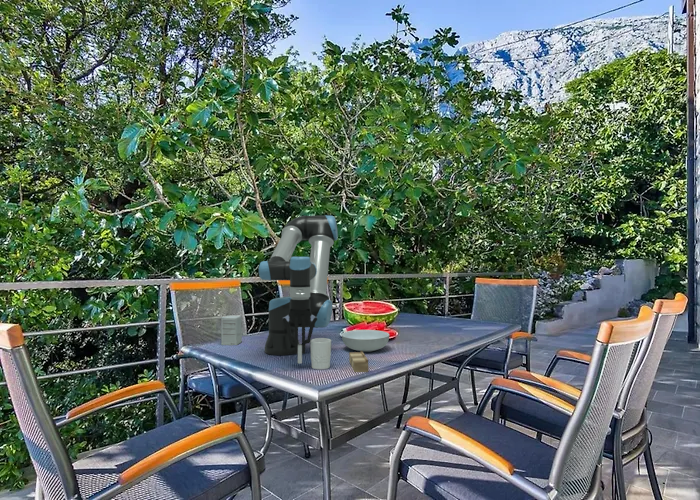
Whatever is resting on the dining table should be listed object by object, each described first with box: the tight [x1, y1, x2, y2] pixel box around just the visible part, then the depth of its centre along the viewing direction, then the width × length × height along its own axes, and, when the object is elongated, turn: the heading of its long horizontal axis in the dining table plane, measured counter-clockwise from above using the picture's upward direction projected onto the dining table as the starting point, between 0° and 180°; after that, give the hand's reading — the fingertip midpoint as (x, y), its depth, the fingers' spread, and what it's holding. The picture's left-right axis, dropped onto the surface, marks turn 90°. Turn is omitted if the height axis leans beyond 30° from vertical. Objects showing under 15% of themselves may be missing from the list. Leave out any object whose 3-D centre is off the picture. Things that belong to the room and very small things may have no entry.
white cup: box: [309, 337, 332, 370], centre depth 158 cm, size 8×8×10 cm
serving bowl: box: [341, 329, 390, 353], centre depth 188 cm, size 21×21×7 cm
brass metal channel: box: [348, 351, 369, 373], centre depth 160 cm, size 15×5×4 cm, turn 7°
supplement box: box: [220, 315, 243, 346], centre depth 199 cm, size 7×7×13 cm
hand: (299, 362), depth 157 cm, fingers closed
